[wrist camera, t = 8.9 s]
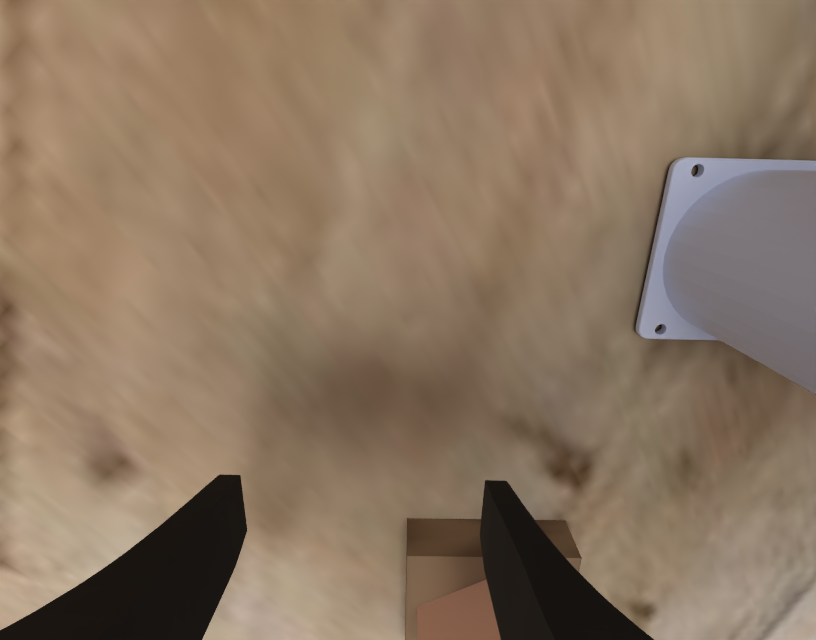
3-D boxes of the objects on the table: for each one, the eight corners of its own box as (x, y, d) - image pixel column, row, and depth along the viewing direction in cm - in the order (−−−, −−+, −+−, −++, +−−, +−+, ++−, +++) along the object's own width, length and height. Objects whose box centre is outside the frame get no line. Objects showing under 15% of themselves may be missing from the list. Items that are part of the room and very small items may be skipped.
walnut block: (562, 514, 25) (581, 558, 23) (544, 624, 28) (558, 675, 26) (407, 512, 25) (407, 556, 23) (405, 623, 28) (404, 673, 26)
